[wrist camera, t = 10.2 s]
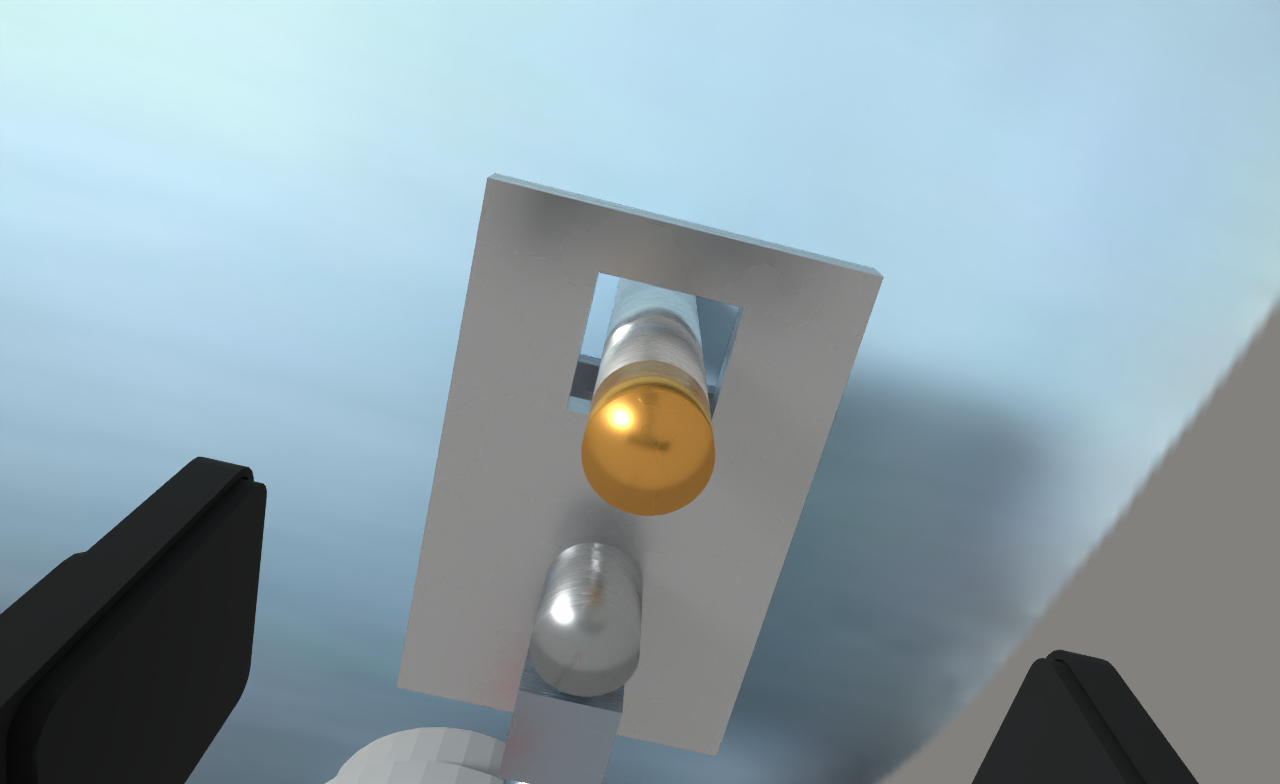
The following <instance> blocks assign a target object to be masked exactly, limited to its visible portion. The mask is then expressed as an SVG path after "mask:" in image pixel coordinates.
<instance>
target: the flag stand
mask: <svg viewBox="0 0 1280 784" xmlns="http://www.w3.org/2000/svg"><path fill="white" fill-rule="evenodd" d="M505 745H506V743H504V742H502V741H500V740H498V739H496V738H493V737H490V736H487V735H483V734H480V733H477V732H474V731H469V730H462V729H455V728H448V727H429V728H416V729H411V730H405V731H400V732H396V733H393V734H391V735H388V736H385V737H382V738H380V739H377V740H375V741H373V742H372V743H370V744H368V745H367V746H365V747H364V748H362V749H360V750H359V751H357V752H356V753H355V754H354V755H353V756H352V757H351V758H350V759H349V760H348V761H347V762H346V763H345V764H344V765H343V766H342V768H341V769H340V771H339V772H338V774H337V776H336V777H335V778H334V779H332V780H330V781H329V782H327V783H325V784H503V782H504V779H502V778H498V774H499V770H500V766H501V762H502V757H503V753H504V749H505Z"/></svg>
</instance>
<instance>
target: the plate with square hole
mask: <svg viewBox="0 0 1280 784" xmlns="http://www.w3.org/2000/svg"><path fill="white" fill-rule="evenodd" d="M599 272H600V273H604V274H608V275H612V276H617V277H621V278H625V279H629V280H633V281H637V282H641V283H645V284H649V285H653V286H657V287H661V288H665V289H669V290H673V291H677V292H681V293H685V294H690V295H694V296H698V297H702V298H706V299H710V300H714V301H718V302H722V303H726V304H730V305H734V306H738V307H739V309H738V313H737V316H736V319H735V323H734V326H733V330H732V333H731V336H730V340H729V343H728V347H727V350H726V354H725V357H724V360H723V364H722V367H721V371H720V374H719V377H718V381H717V384H716V387H714V386H710V385H707V390H708V398H709V406H710V413H711V421H712V429H713V437H714V445H715V465H714V469H713V473H712V475H711V478H710V480H709V482H708V484H707V485H706V487H705V488H704V490H703V491H702V492H701V493H700V494H699V495H698V496H697V498H696V499H694V500H693V501H692V502H690V503H689V504H688V505H686V506H684V507H683V508H681V509H678V510H676V511H674V512H670V513H667V514H662V515H655V516H642V515H635V514H631V513H627V512H624V511H622V510H619V509H617V508H615V507H613V506H612V505H610V504H608V503H607V502H606V501H604V500H603V499H602V498H601V497H600V496H599V495H598V494H597V493H596V492H595V491H594V489H593V488H592V487H591V485H590V483H589V482H588V480H587V478H586V475H585V473H584V470H583V466H582V459H581V448H582V442H583V437H584V433H585V428H586V424H587V420H588V415H589V411H590V407H591V402H592V398H593V393H594V389H595V385H596V380H597V376H598V372H599V367H600V363H601V359H598V358H594V357H589V356H585V355H581V354H580V352H581V347H582V343H583V339H584V334H585V330H586V326H587V321H588V317H589V313H590V308H591V304H592V300H593V295H594V291H595V287H596V282H597V278H598V274H599ZM882 280H883V276H882V275H881V274H880V273H879V272H878V271H877V270H876V269H875V268H871V267H867V266H863V265H859V264H855V263H851V262H847V261H843V260H839V259H835V258H831V257H827V256H823V255H819V254H815V253H811V252H807V251H803V250H799V249H795V248H791V247H787V246H783V245H779V244H775V243H771V242H767V241H763V240H759V239H755V238H751V237H747V236H743V235H739V234H735V233H732V232H728V231H724V230H720V229H716V228H712V227H708V226H704V225H700V224H696V223H692V222H688V221H684V220H680V219H676V218H672V217H668V216H664V215H660V214H656V213H652V212H648V211H644V210H640V209H636V208H632V207H628V206H624V205H620V204H616V203H612V202H608V201H604V200H600V199H596V198H592V197H588V196H584V195H580V194H576V193H572V192H568V191H564V190H560V189H556V188H552V187H548V186H544V185H540V184H536V183H532V182H528V181H525V180H521V179H517V178H513V177H509V176H505V175H501V174H497V173H495V174H493V175H491V176H489V177H488V178H487V183H486V189H485V194H484V200H483V206H482V211H481V217H480V222H479V228H478V234H477V239H476V245H475V250H474V256H473V262H472V267H471V273H470V279H469V284H468V290H467V295H466V301H465V307H464V312H463V318H462V323H461V329H460V335H459V340H458V346H457V351H456V357H455V363H454V368H453V374H452V379H451V385H450V391H449V396H448V402H447V408H446V413H445V419H444V424H443V430H442V436H441V441H440V447H439V452H438V458H437V464H436V469H435V475H434V480H433V486H432V492H431V497H430V503H429V508H428V514H427V520H426V525H425V531H424V536H423V542H422V548H421V553H420V559H419V565H418V570H417V576H416V581H415V587H414V593H413V598H412V604H411V609H410V615H409V621H408V626H407V632H406V637H405V643H404V649H403V654H402V660H401V665H400V671H399V677H398V682H397V687H398V688H402V689H407V690H412V691H416V692H421V693H425V694H430V695H435V696H439V697H444V698H449V699H453V700H458V701H462V702H467V703H472V704H476V705H481V706H486V707H490V708H495V709H499V710H504V711H509V712H513V716H512V720H511V724H510V728H509V732H508V736H507V741H506V745H505V749H504V753H503V757H502V762H501V766H500V770H499V774H498V778H502V779H504V782H503V784H602V781H603V778H604V774H605V771H606V768H607V764H608V761H609V757H610V754H611V751H612V747H613V744H614V740H615V737H616V735H620V736H624V737H629V738H633V739H638V740H643V741H647V742H652V743H657V744H661V745H666V746H670V747H675V748H680V749H684V750H689V751H694V752H698V753H703V754H707V755H712V756H717V753H718V750H719V747H720V745H721V742H722V739H723V736H724V733H725V730H726V727H727V724H728V722H729V719H730V716H731V713H732V710H733V707H734V704H735V702H736V699H737V696H738V693H739V690H740V687H741V684H742V681H743V679H744V676H745V673H746V670H747V667H748V664H749V661H750V659H751V656H752V653H753V650H754V647H755V644H756V641H757V638H758V636H759V633H760V630H761V627H762V624H763V621H764V618H765V616H766V613H767V610H768V607H769V604H770V601H771V598H772V595H773V593H774V590H775V587H776V584H777V581H778V578H779V575H780V572H781V570H782V567H783V564H784V561H785V558H786V555H787V552H788V550H789V547H790V544H791V541H792V538H793V535H794V532H795V529H796V527H797V524H798V521H799V518H800V515H801V512H802V509H803V507H804V504H805V501H806V498H807V495H808V492H809V489H810V486H811V484H812V481H813V478H814V475H815V472H816V469H817V466H818V464H819V461H820V458H821V455H822V452H823V449H824V446H825V443H826V441H827V438H828V435H829V432H830V429H831V426H832V423H833V421H834V418H835V415H836V412H837V409H838V406H839V403H840V400H841V398H842V395H843V392H844V389H845V386H846V383H847V380H848V377H849V375H850V372H851V369H852V366H853V363H854V360H855V357H856V355H857V352H858V349H859V346H860V343H861V340H862V337H863V334H864V332H865V329H866V326H867V323H868V320H869V317H870V314H871V312H872V309H873V306H874V303H875V300H876V297H877V294H878V291H879V289H880V286H881V283H882Z"/></svg>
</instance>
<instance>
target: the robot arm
mask: <svg viewBox="0 0 1280 784" xmlns="http://www.w3.org/2000/svg"><path fill="white" fill-rule="evenodd" d="M266 498H267V490H266V486H265V485H264V484H263V483H258V482H254V477H253V473H252V470H251V469H250V468H249V467H245V466H241V465H236V464H232V463H227V462H223V461H218V460H214V459H210V458H205V457H197V458H195V459H193V460H192V461H191V462H189V463H188V464H187V465H186V466H185V467H184V468H182V469H181V470H180V471H179V472H178V473H177V474H176V475H174V476H173V477H172V478H171V479H170V480H169V481H167V482H166V483H165V484H164V485H163V486H162V487H160V488H159V489H158V490H157V491H156V492H155V493H154V494H152V495H151V496H150V497H149V498H148V499H147V500H145V501H144V502H143V503H142V504H141V505H140V506H139V507H137V508H136V509H135V510H134V511H133V512H132V513H130V514H129V515H128V516H127V517H126V518H125V519H124V520H122V521H121V522H120V523H119V524H118V525H117V526H115V527H114V528H113V529H112V530H111V531H110V532H108V533H107V534H106V535H105V536H104V537H103V538H102V539H100V540H99V541H98V542H97V543H96V544H95V545H93V546H92V547H91V548H90V549H89V550H88V551H87V552H82V553H76V554H74V555H72V556H71V557H69V558H68V559H66V560H64V561H63V562H62V563H61V564H59V565H58V566H57V567H56V568H55V569H53V570H52V571H51V572H50V573H49V574H48V575H46V576H45V577H44V578H43V579H42V580H40V581H39V582H38V583H37V584H36V585H35V586H33V587H32V588H31V589H30V590H29V591H28V592H26V593H25V594H24V595H23V596H22V597H20V598H19V599H18V600H17V601H16V602H15V603H13V604H12V605H11V606H10V607H9V608H7V609H6V610H5V611H4V612H3V613H2V614H0V784H184V783H185V782H186V780H187V779H188V777H189V776H190V774H191V773H192V771H193V770H194V768H195V767H196V765H197V764H198V762H199V761H200V759H201V758H202V756H203V754H204V753H205V751H206V750H207V748H208V747H209V745H210V744H211V742H212V741H213V739H214V738H215V736H216V735H217V733H218V732H219V730H220V729H221V727H222V726H223V724H224V722H225V721H226V719H227V718H228V716H229V715H230V713H231V712H232V710H233V709H234V707H235V706H236V704H237V703H238V701H239V699H240V697H241V695H242V693H243V691H244V689H245V686H246V683H247V680H248V676H249V672H250V666H251V655H252V645H253V634H254V624H255V613H256V603H257V592H258V582H259V571H260V561H261V550H262V540H263V529H264V519H265V508H266ZM972 784H1199V783H1198V782H1197V781H1196V779H1195V778H1194V777H1193V775H1192V774H1191V772H1190V771H1189V770H1188V768H1187V767H1186V765H1185V764H1184V763H1183V762H1182V760H1181V759H1180V757H1179V756H1178V754H1177V753H1176V752H1175V750H1174V749H1173V748H1172V746H1171V745H1170V743H1169V742H1168V741H1167V739H1166V738H1165V737H1164V735H1163V734H1162V732H1161V731H1160V730H1159V728H1158V727H1157V726H1156V724H1155V723H1154V722H1153V720H1152V719H1151V717H1150V716H1149V715H1148V713H1147V712H1146V711H1145V709H1144V708H1143V706H1142V705H1141V704H1140V702H1139V701H1138V700H1137V698H1136V697H1135V696H1134V694H1133V693H1132V691H1131V690H1130V689H1129V687H1128V686H1127V684H1126V683H1125V682H1124V680H1123V679H1122V678H1121V676H1120V675H1119V673H1118V672H1117V671H1116V669H1115V668H1114V667H1113V666H1112V665H1111V664H1110V663H1109V662H1108V661H1105V660H1103V659H1099V658H1095V657H1090V656H1086V655H1081V654H1077V653H1072V652H1068V651H1064V650H1056V651H1053V652H1052V653H1050V654H1049V655H1048V656H1047V658H1046V659H1045V658H1041V659H1038V660H1036V661H1035V662H1034V663H1033V664H1032V666H1031V667H1030V670H1029V671H1028V673H1027V675H1026V677H1025V679H1024V681H1023V683H1022V685H1021V687H1020V689H1019V691H1018V693H1017V695H1016V697H1015V699H1014V701H1013V703H1012V705H1011V707H1010V709H1009V711H1008V713H1007V715H1006V717H1005V719H1004V721H1003V723H1002V725H1001V727H1000V729H999V731H998V733H997V735H996V737H995V739H994V741H993V743H992V745H991V747H990V749H989V750H988V752H987V754H986V757H985V758H984V761H983V762H982V764H981V766H980V768H979V770H978V772H977V774H976V776H975V778H974V780H973V782H972Z"/></svg>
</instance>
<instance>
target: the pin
mask: <svg viewBox="0 0 1280 784" xmlns="http://www.w3.org/2000/svg"><path fill="white" fill-rule="evenodd" d="M581 459H582V466H583V470H584V473H585V475H586V478H587V480H588V482H589V483H590V485H591V487H592V488H593V489H594V491H595V492H596V493H597V494H598V495H599V496H600V497H601V498H602V499H603V500H604V501H606V502H607V503H608V504H610V505H612V506H613V507H615V508H617V509H619V510H622V511H624V512H627V513H631V514H635V515H642V516H655V515H662V514H667V513H670V512H674V511H676V510H678V509H681V508H683V507H684V506H686V505H688V504H689V503H690V502H692V501H693V500H694V499H696V498H697V496H698V495H699V494H700V493H701V492H702V491H703V490H704V488H705V487H706V485H707V484H708V482H709V480H710V478H711V475H712V473H713V469H714V465H715V445H714V437H713V429H712V421H711V413H710V406H709V398H708V390H707V382H706V374H705V366H704V359H703V351H702V343H701V335H700V327H699V319H698V311H697V304H696V296H694V295H690V294H685V293H681V292H677V291H673V290H669V289H665V288H661V287H657V286H653V285H649V284H645V283H641V282H637V281H633V280H629V279H625V278H621V277H620V280H619V284H618V288H617V293H616V297H615V302H614V306H613V310H612V315H611V319H610V323H609V328H608V332H607V337H606V341H605V345H604V350H603V354H602V358H601V363H600V367H599V372H598V376H597V380H596V385H595V389H594V393H593V398H592V402H591V407H590V411H589V415H588V420H587V424H586V428H585V433H584V437H583V442H582V448H581Z"/></svg>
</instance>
